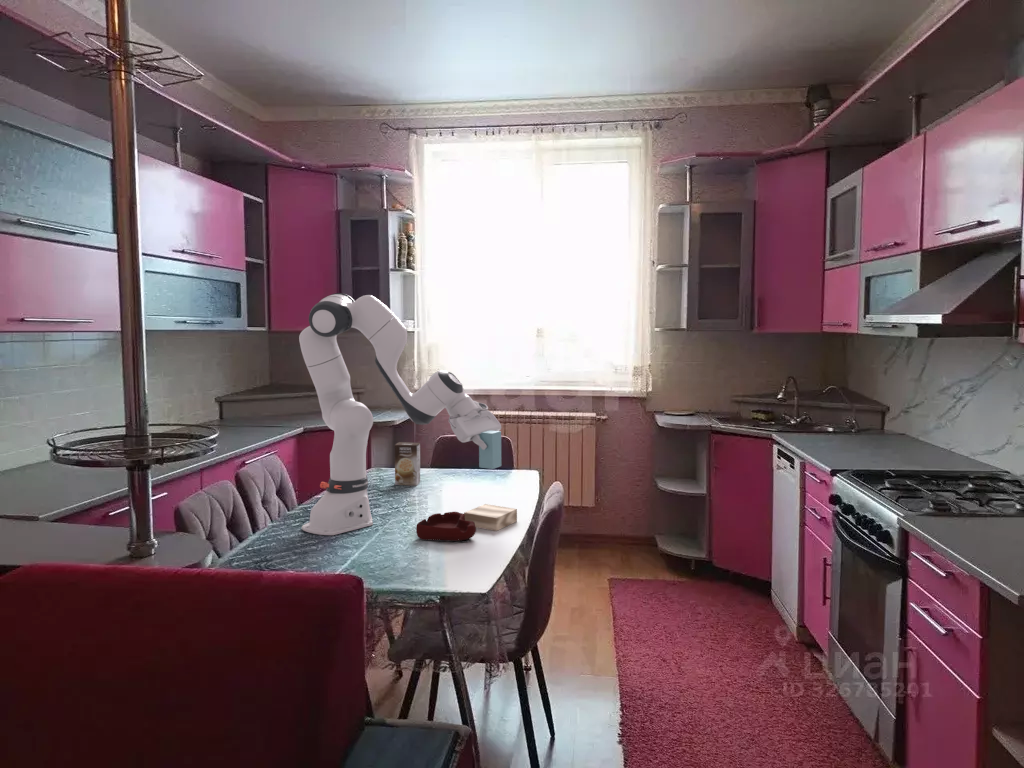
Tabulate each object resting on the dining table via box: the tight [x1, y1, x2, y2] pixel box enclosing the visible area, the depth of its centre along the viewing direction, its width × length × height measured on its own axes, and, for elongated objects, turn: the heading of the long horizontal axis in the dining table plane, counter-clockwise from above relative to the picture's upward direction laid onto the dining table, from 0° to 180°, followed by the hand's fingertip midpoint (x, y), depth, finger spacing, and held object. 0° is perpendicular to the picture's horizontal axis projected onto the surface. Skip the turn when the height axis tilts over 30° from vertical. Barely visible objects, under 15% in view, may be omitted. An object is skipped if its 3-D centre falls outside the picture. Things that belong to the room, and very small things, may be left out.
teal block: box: [478, 430, 502, 470], centre depth 215 cm, size 5×5×11 cm
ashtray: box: [415, 511, 477, 543], centre depth 203 cm, size 18×16×5 cm
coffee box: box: [394, 441, 421, 487], centre depth 271 cm, size 9×6×16 cm
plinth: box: [463, 503, 518, 532], centre depth 216 cm, size 12×12×4 cm
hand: (491, 446), depth 214 cm, fingers closed on teal block, 5 cm apart
